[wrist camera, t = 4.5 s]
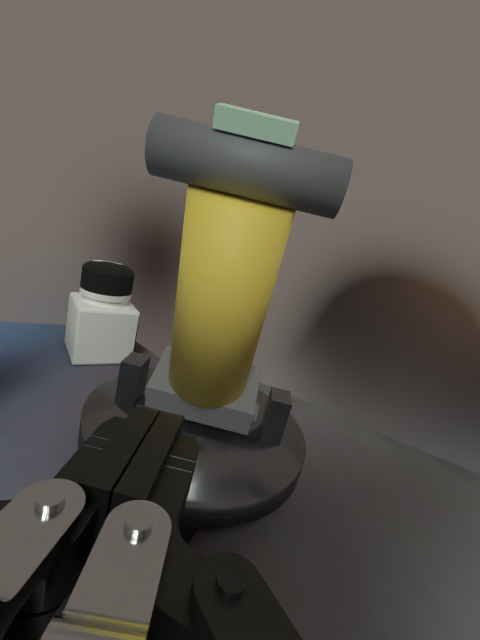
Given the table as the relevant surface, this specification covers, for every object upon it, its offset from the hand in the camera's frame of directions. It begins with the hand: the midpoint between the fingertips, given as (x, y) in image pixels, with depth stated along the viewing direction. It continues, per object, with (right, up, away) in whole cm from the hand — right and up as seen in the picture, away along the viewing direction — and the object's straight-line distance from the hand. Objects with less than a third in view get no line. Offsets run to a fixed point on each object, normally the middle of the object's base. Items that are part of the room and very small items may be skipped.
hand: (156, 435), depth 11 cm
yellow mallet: (0, -3, +18) cm, 18 cm away
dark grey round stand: (-2, -9, +19) cm, 21 cm away
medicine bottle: (-16, -1, +35) cm, 39 cm away
